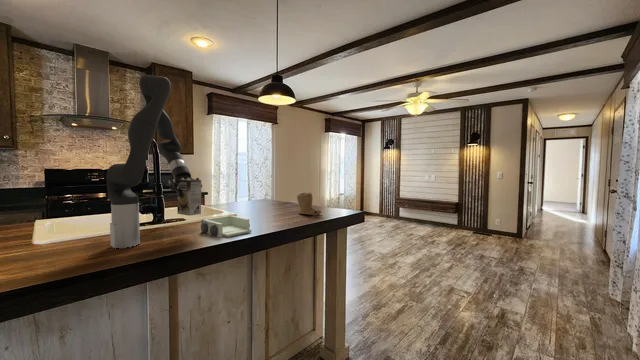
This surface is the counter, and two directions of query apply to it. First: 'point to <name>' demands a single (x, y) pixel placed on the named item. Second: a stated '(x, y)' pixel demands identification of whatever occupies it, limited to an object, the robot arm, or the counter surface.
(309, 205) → the brown boot
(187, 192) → the coffee box
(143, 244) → the counter surface
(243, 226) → the cart bed
